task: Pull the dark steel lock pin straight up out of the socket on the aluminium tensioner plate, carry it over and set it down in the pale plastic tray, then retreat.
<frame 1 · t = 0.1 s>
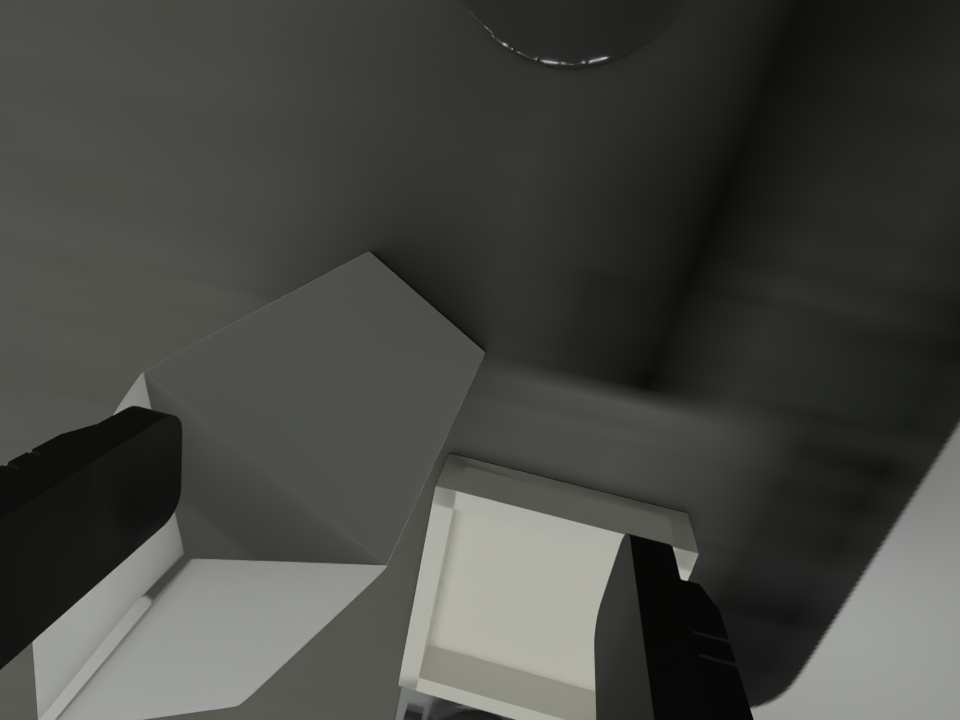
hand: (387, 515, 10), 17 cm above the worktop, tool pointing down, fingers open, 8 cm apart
tray: (537, 583, 32), on the worktop
milk carton: (386, 351, 29), on the worktop
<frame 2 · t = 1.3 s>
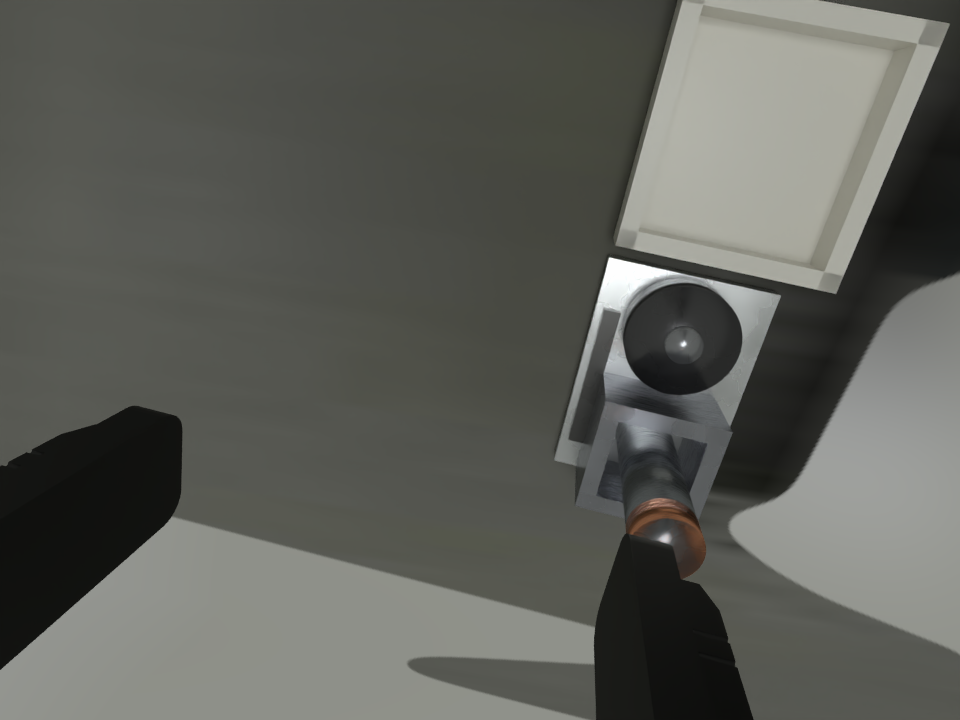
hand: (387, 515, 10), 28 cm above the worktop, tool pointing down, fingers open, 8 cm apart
tray: (751, 145, 33), on the worktop
tensioner: (656, 377, 38), on the worktop
lock pin: (642, 433, 38), point 1 cm above the worktop, touching tensioner
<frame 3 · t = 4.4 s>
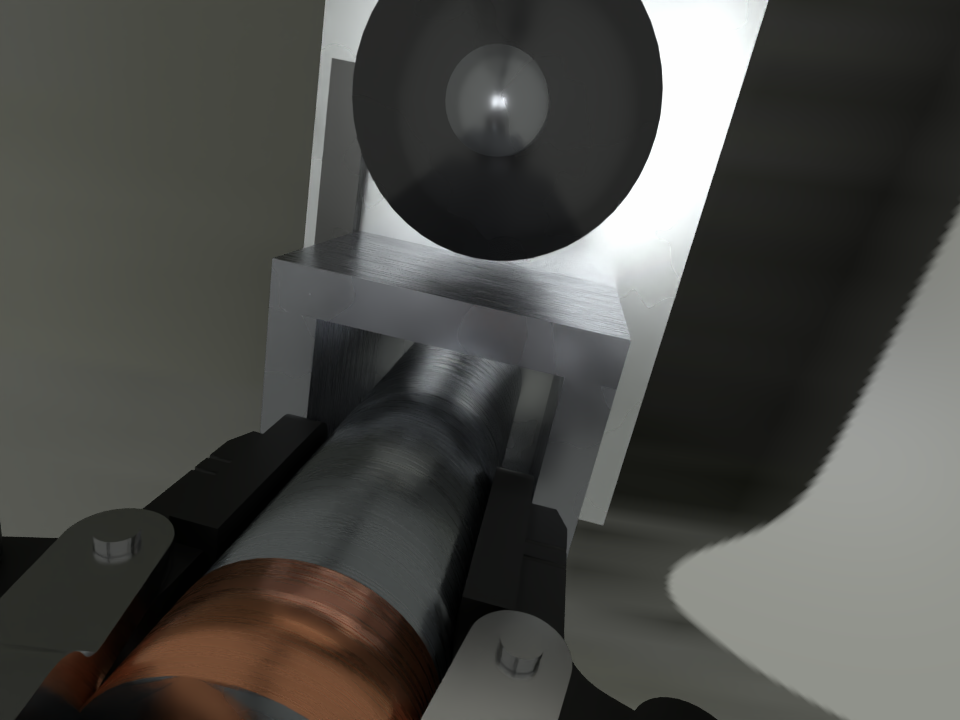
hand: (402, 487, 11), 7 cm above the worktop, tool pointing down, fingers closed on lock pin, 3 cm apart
tensioner: (491, 251, 17), on the worktop
lock pin: (462, 379, 17), point 1 cm above the worktop, touching gripper, tensioner
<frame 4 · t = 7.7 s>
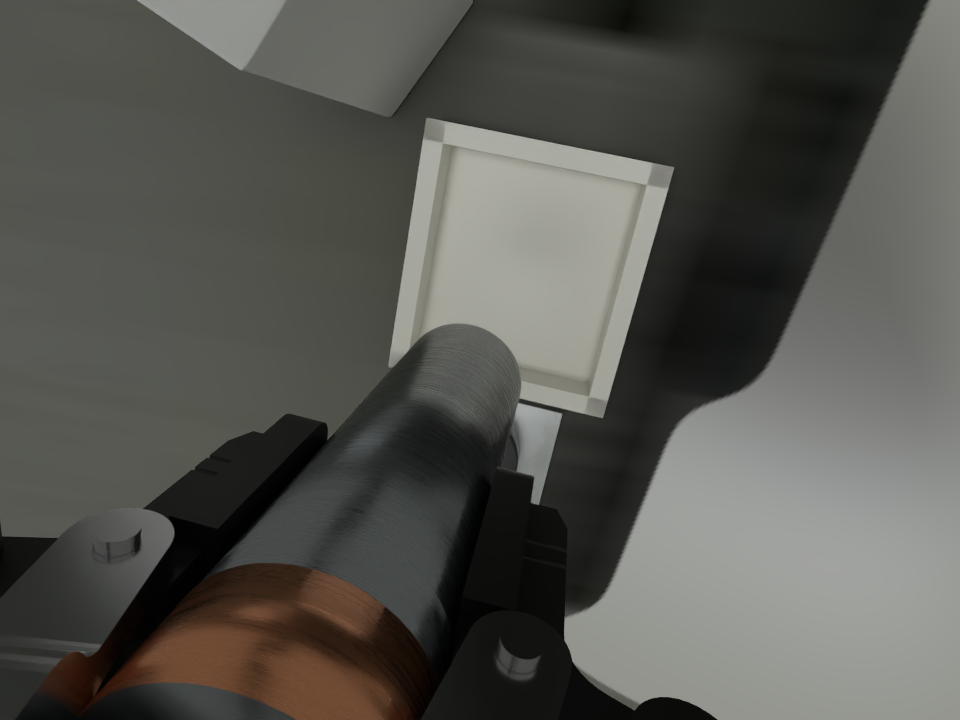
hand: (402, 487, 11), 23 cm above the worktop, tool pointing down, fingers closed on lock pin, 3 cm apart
tray: (524, 267, 33), on the worktop
milk carton: (380, 15, 31), on the worktop
tensioner: (459, 487, 38), on the worktop
lock pin: (461, 381, 17), point 17 cm above the worktop, touching gripper
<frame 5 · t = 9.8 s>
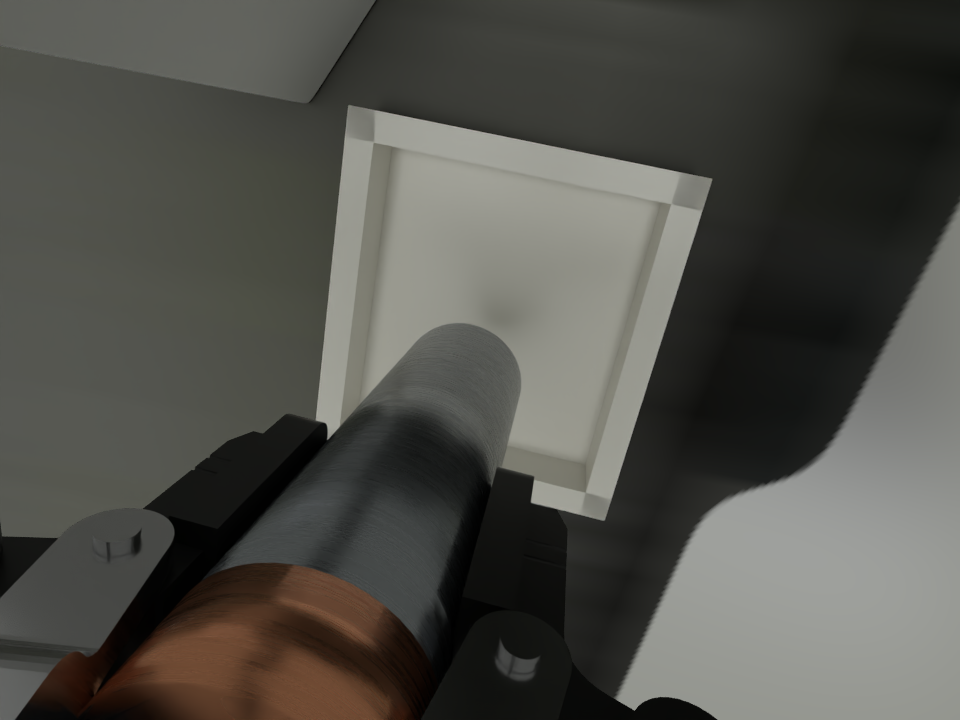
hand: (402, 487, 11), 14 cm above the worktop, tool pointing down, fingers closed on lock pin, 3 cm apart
tray: (497, 309, 24), on the worktop
lock pin: (461, 380, 17), point 8 cm above the worktop, touching gripper
when the fingers open (8 cm above the worktop, at t = 11.3 s): lock pin drops 1 cm, resting on tray.
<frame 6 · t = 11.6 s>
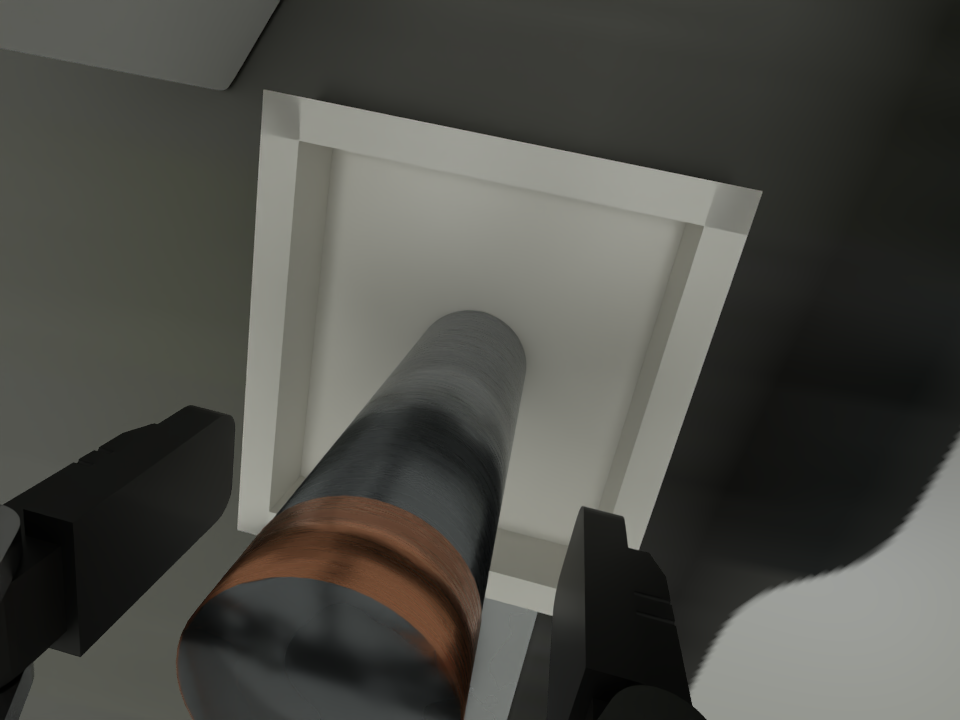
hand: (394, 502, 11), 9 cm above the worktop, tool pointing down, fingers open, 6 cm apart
tray: (473, 355, 19), on the worktop
tensioner: (383, 680, 24), on the worktop
lock pin: (470, 364, 18), point 1 cm above the worktop, touching tray
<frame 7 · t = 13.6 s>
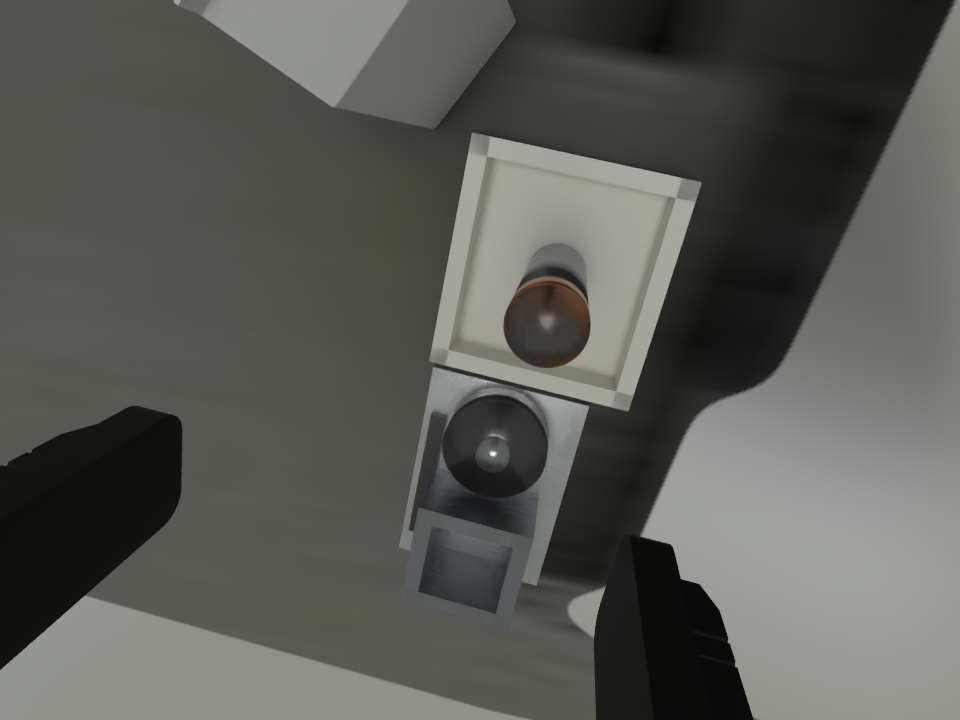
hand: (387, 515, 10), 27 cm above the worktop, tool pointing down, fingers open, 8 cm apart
tray: (556, 270, 35), on the worktop
milk carton: (427, 33, 33), on the worktop
tensioner: (489, 472, 40), on the worktop
lock pin: (556, 272, 35), point 1 cm above the worktop, touching tray
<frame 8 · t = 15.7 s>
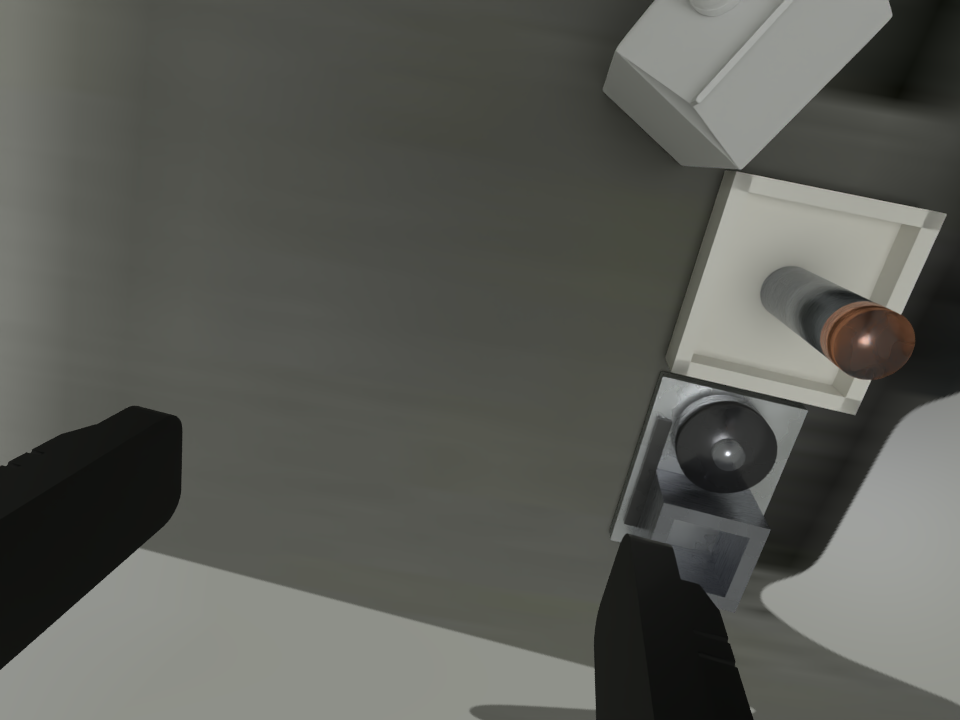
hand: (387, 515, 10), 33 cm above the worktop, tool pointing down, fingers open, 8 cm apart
tray: (783, 289, 40), on the worktop
milk carton: (683, 82, 37), on the worktop
tensioner: (699, 471, 45), on the worktop
lock pin: (787, 291, 39), point 1 cm above the worktop, touching tray
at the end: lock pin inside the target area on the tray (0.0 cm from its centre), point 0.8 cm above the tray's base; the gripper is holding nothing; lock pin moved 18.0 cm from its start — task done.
